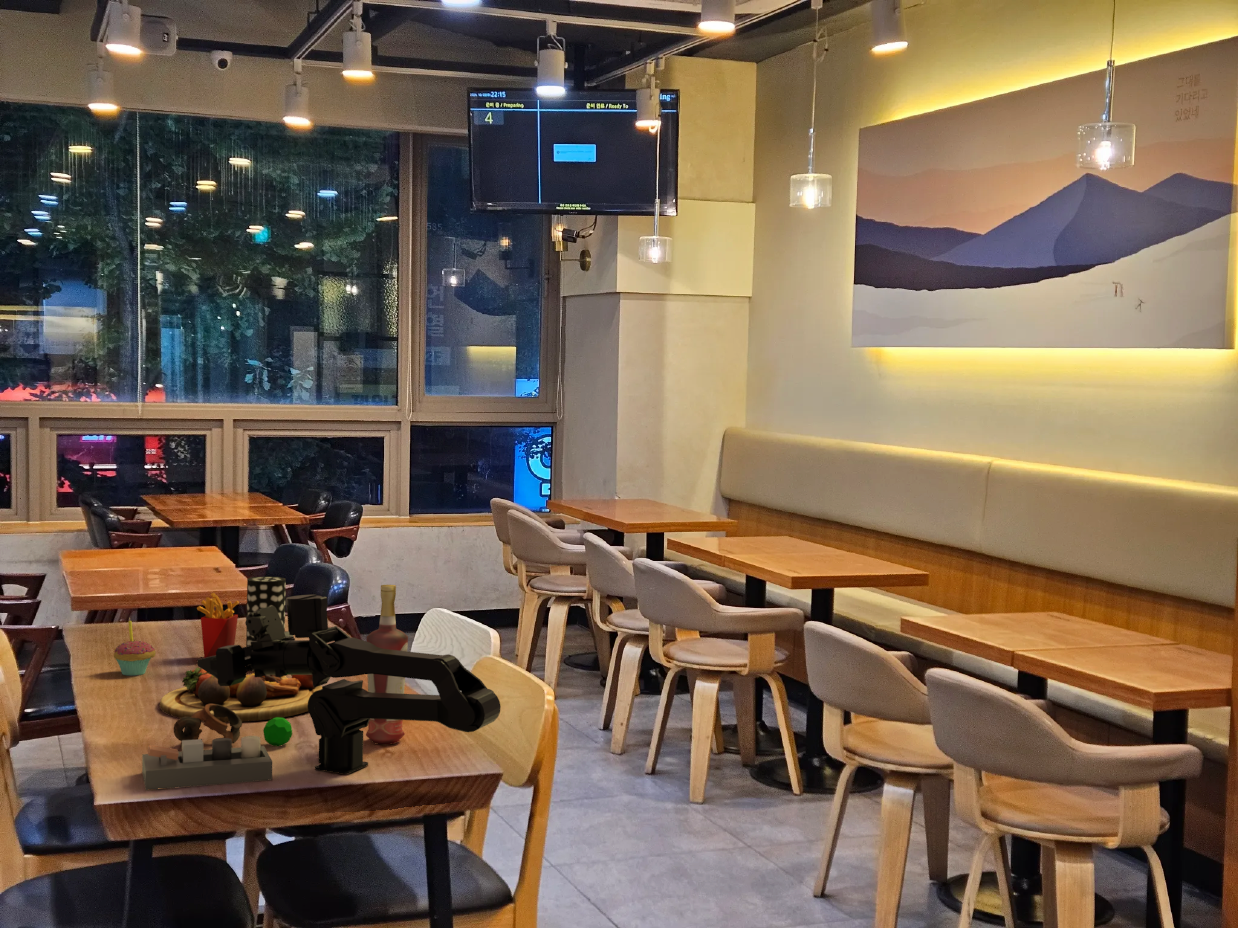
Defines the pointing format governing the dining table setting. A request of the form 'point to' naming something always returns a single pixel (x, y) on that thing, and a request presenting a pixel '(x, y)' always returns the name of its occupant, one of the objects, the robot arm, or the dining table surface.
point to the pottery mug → (208, 723)
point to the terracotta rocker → (163, 752)
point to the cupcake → (133, 655)
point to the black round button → (221, 749)
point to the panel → (205, 770)
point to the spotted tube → (265, 597)
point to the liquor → (393, 640)
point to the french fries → (217, 625)
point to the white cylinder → (250, 747)
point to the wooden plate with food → (241, 696)
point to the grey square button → (192, 751)
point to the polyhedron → (277, 731)
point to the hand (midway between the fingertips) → (215, 657)
